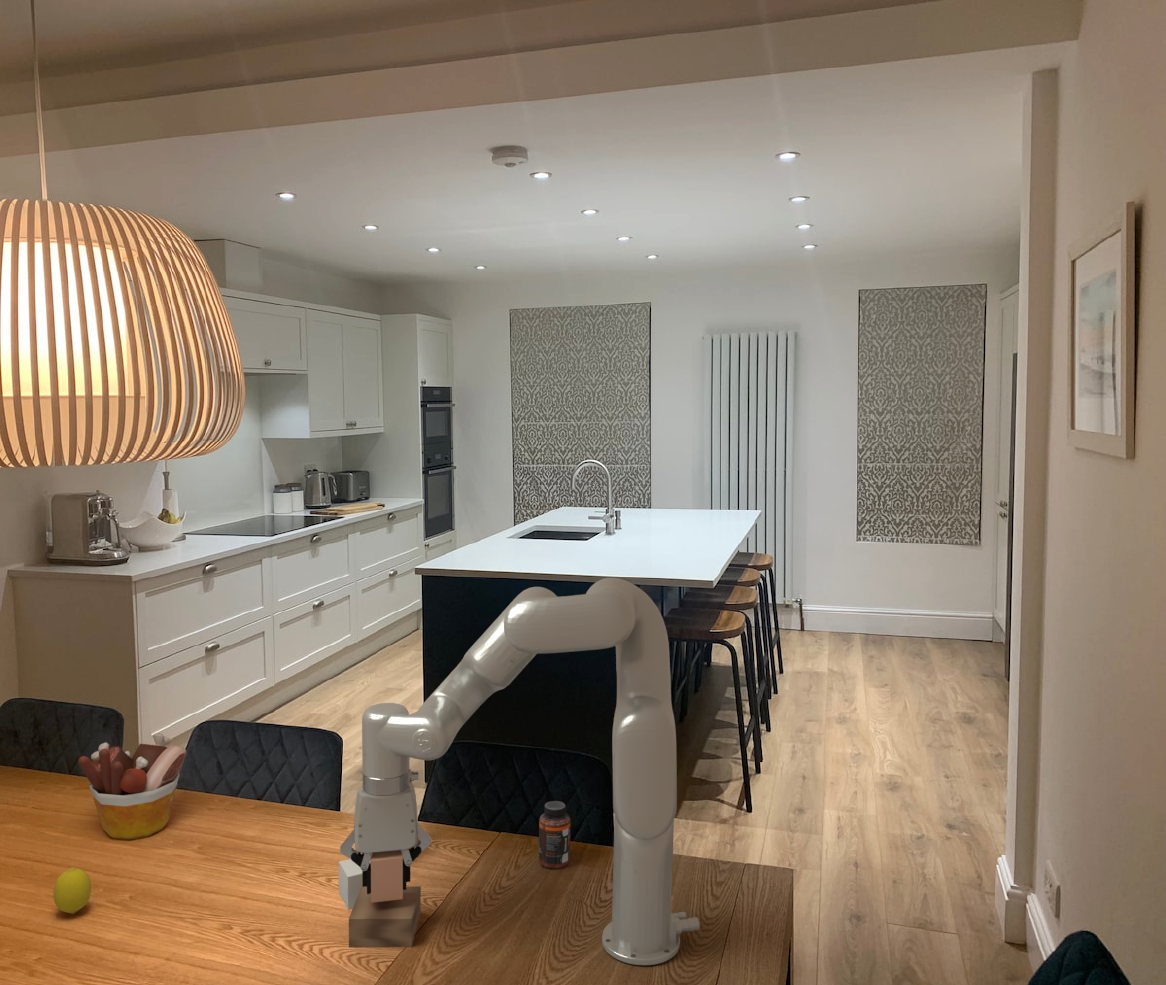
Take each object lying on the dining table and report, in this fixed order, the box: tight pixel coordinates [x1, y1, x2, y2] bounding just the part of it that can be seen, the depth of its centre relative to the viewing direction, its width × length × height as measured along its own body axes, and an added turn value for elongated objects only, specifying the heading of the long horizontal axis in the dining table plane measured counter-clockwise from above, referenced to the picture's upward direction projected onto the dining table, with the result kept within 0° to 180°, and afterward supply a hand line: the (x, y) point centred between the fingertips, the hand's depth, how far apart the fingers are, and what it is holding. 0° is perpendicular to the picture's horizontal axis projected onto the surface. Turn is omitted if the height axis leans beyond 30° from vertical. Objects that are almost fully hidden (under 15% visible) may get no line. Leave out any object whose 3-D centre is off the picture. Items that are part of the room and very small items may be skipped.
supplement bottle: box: [538, 800, 571, 869], centre depth 173 cm, size 6×6×11 cm
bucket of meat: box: [77, 732, 187, 841], centre depth 183 cm, size 20×16×20 cm
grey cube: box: [338, 858, 362, 911], centre depth 160 cm, size 6×6×6 cm
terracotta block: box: [370, 850, 403, 903], centre depth 150 cm, size 5×5×7 cm
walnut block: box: [348, 885, 422, 948], centre depth 150 cm, size 10×10×5 cm
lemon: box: [53, 867, 92, 915], centre depth 153 cm, size 6×6×8 cm
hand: (386, 886), depth 150 cm, fingers closed on terracotta block, 5 cm apart
